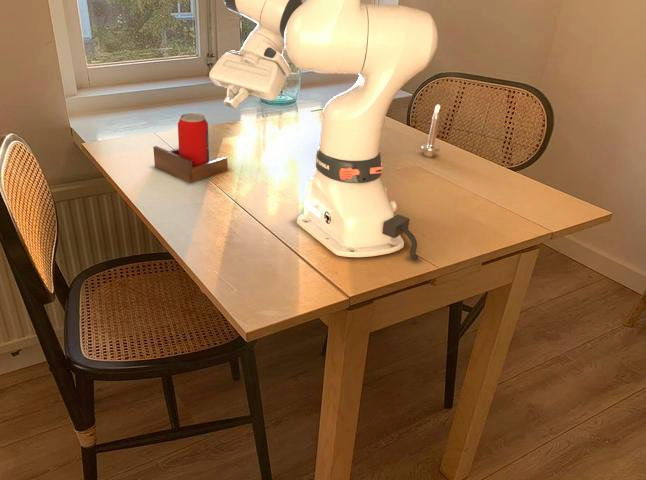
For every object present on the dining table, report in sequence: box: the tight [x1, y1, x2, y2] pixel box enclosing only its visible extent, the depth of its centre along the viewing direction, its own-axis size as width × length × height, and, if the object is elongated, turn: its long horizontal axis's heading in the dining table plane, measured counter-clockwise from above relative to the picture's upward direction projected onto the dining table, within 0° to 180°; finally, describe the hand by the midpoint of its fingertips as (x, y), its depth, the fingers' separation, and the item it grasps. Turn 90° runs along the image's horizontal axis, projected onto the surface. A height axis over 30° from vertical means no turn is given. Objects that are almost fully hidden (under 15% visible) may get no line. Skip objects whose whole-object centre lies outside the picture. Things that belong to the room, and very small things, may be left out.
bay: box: [152, 145, 228, 184], centre depth 134 cm, size 11×12×5 cm
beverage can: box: [177, 112, 210, 167], centre depth 132 cm, size 7×7×12 cm
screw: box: [420, 104, 442, 158], centre depth 146 cm, size 13×5×5 cm
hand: (229, 105), depth 136 cm, fingers closed
